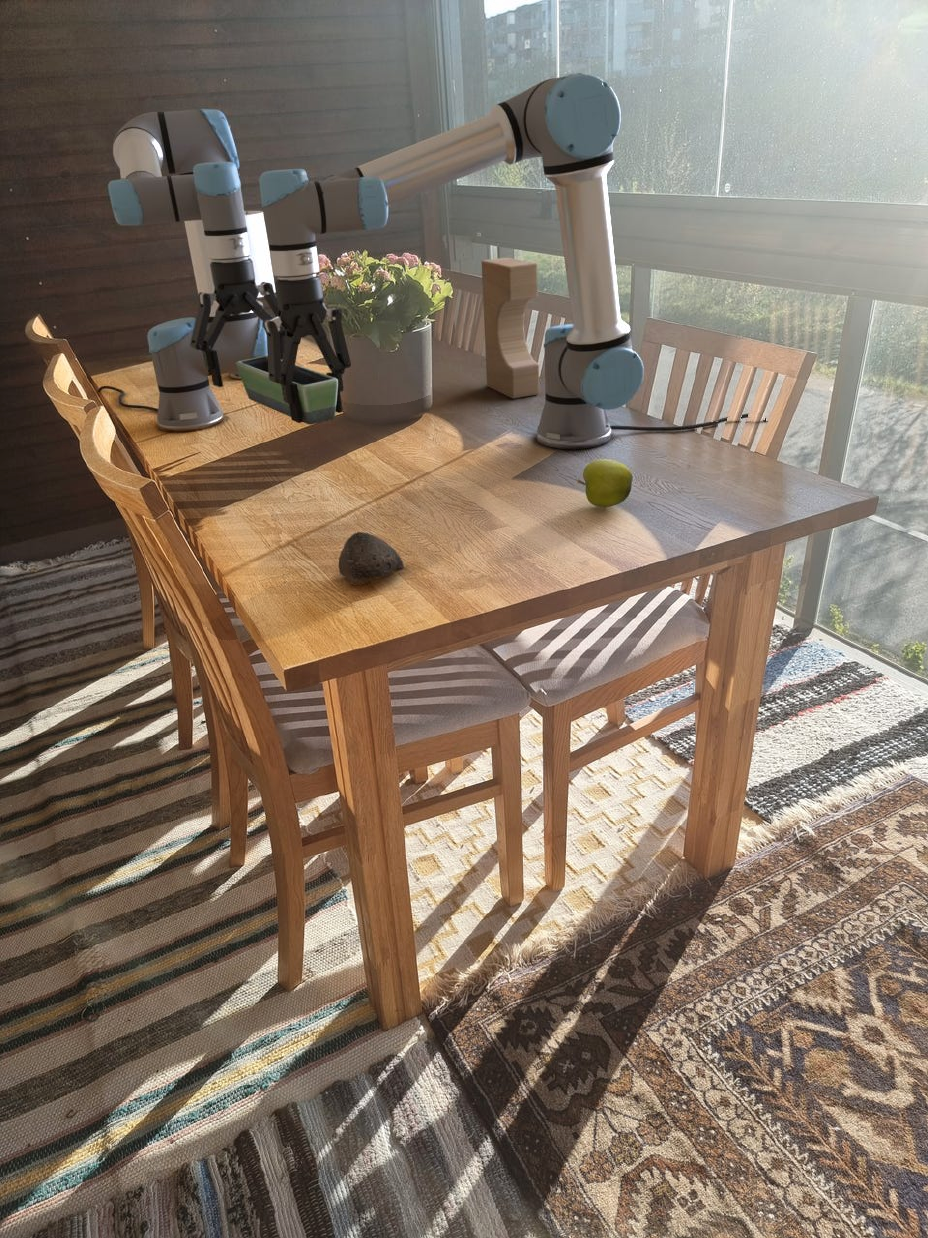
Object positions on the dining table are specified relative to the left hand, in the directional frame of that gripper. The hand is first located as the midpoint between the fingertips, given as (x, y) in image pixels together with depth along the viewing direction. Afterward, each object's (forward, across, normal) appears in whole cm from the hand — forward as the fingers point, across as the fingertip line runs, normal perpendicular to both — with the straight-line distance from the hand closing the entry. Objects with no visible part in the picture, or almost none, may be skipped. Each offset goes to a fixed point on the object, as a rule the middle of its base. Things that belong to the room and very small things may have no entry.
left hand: (251, 378), depth 168 cm
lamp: (+20, +37, +79) cm, 90 cm away
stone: (+17, -12, -57) cm, 61 cm away
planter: (+4, +1, -13) cm, 13 cm away
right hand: (+2, 0, -23) cm, 24 cm away
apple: (+18, +32, -62) cm, 72 cm away
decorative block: (+19, +72, +6) cm, 75 cm away
